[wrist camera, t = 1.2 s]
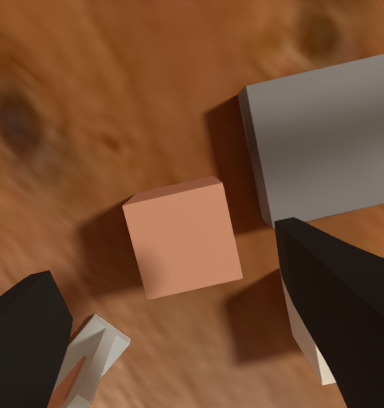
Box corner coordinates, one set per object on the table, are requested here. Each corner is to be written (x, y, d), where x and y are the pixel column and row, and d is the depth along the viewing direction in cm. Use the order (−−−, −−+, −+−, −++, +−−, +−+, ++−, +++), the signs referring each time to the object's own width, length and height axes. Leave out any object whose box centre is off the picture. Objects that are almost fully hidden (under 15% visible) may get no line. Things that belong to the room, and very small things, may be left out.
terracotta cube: (229, 249, 22) (243, 278, 17) (155, 266, 22) (147, 300, 17) (212, 175, 21) (222, 182, 16) (136, 193, 21) (122, 205, 16)
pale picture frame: (130, 339, 22) (109, 416, 16) (69, 411, 23) (24, 514, 16) (95, 313, 22) (58, 381, 15) (33, 388, 23) (-27, 483, 16)
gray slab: (378, 190, 22) (409, 197, 19) (260, 218, 22) (273, 228, 19) (361, 66, 20) (392, 52, 17) (236, 95, 20) (246, 85, 17)
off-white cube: (362, 318, 23) (412, 364, 18) (292, 334, 23) (322, 385, 18) (351, 250, 22) (401, 279, 17) (278, 267, 22) (307, 300, 17)
